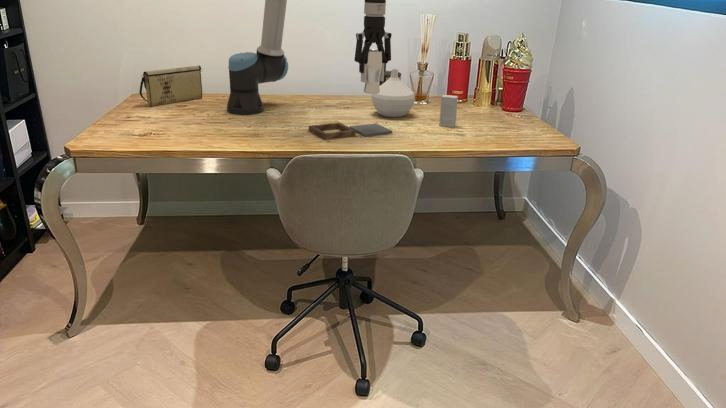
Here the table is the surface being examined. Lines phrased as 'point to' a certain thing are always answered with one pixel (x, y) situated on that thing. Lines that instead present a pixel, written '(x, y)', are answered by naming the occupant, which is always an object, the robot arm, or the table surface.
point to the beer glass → (373, 71)
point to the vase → (393, 97)
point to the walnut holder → (332, 135)
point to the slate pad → (370, 130)
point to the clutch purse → (172, 85)
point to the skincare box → (448, 110)
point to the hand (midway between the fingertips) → (372, 81)
